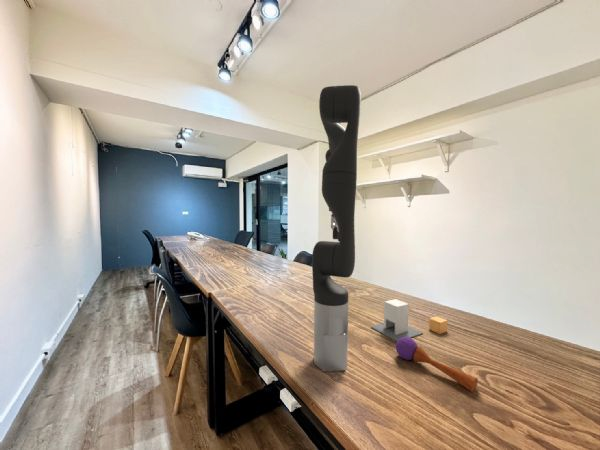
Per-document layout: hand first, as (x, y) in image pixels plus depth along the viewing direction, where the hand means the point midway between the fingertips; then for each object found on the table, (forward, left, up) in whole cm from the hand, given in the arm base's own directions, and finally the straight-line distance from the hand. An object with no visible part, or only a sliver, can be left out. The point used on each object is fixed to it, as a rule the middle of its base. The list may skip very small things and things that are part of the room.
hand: (337, 240), depth 102 cm
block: (-17, -32, -30) cm, 47 cm away
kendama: (-38, -16, -31) cm, 51 cm away
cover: (-16, -17, -30) cm, 38 cm away
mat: (-16, -17, -30) cm, 38 cm away
